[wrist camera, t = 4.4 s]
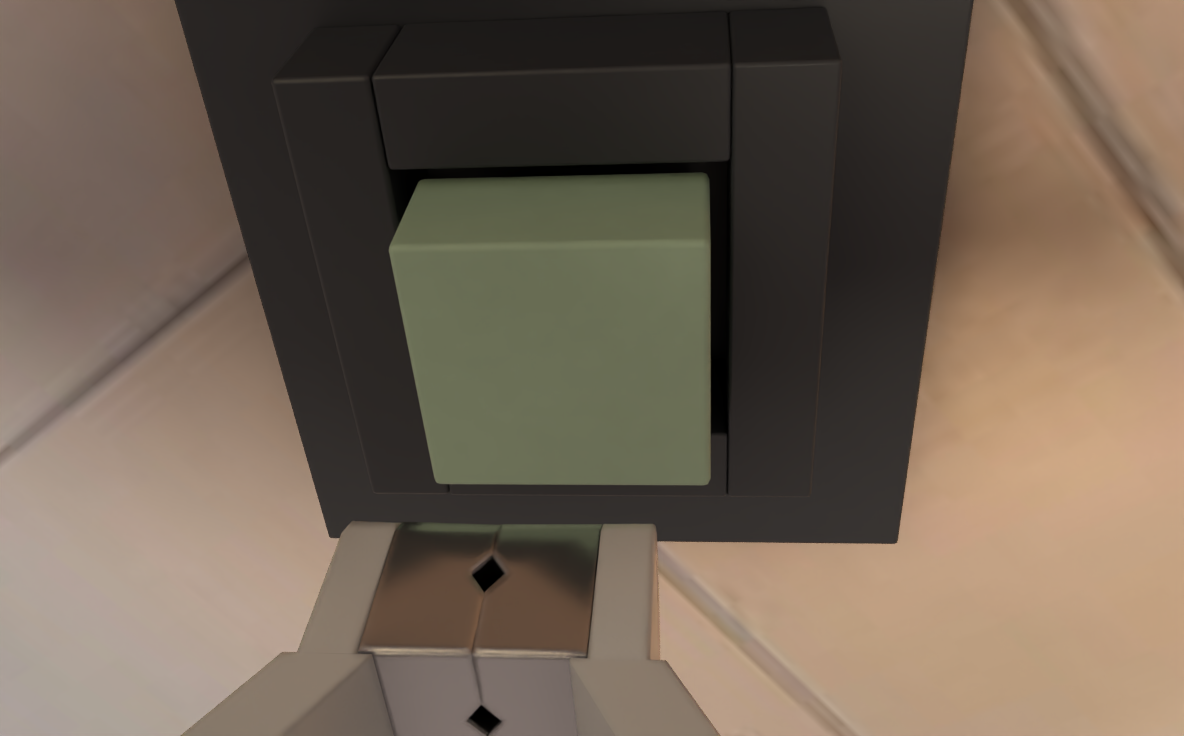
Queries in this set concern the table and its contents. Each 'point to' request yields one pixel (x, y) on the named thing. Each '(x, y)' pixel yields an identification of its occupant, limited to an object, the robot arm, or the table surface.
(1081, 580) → the table surface
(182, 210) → the table surface
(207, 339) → the table surface
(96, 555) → the table surface
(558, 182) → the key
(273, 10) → the dark grey stepped base
